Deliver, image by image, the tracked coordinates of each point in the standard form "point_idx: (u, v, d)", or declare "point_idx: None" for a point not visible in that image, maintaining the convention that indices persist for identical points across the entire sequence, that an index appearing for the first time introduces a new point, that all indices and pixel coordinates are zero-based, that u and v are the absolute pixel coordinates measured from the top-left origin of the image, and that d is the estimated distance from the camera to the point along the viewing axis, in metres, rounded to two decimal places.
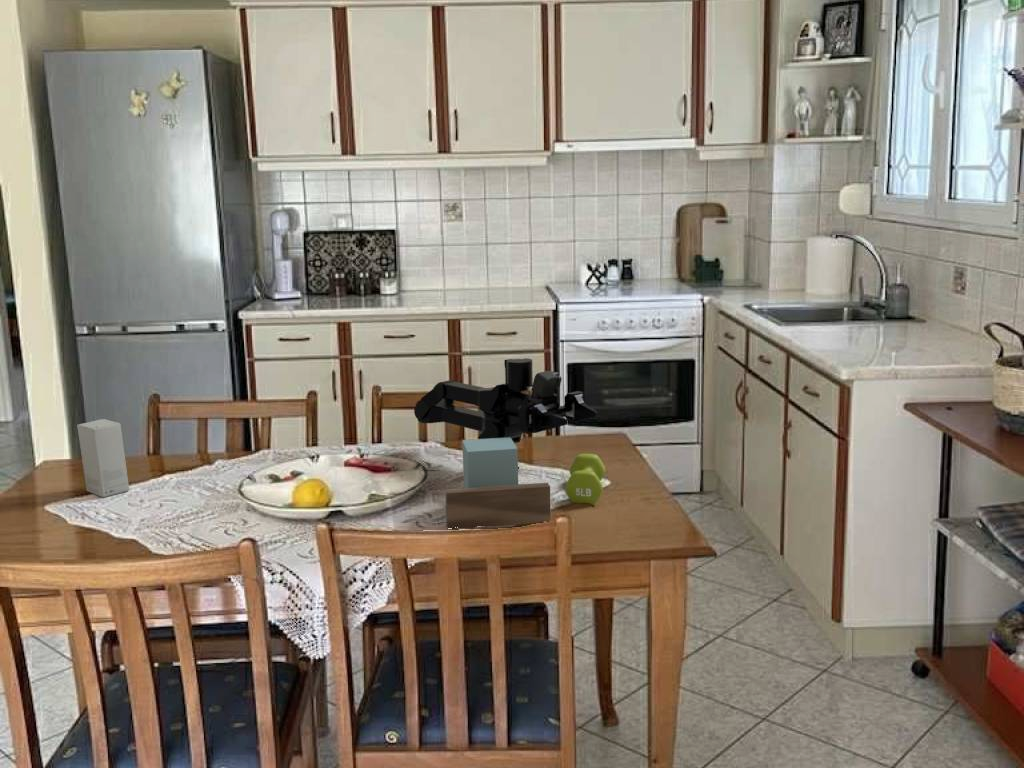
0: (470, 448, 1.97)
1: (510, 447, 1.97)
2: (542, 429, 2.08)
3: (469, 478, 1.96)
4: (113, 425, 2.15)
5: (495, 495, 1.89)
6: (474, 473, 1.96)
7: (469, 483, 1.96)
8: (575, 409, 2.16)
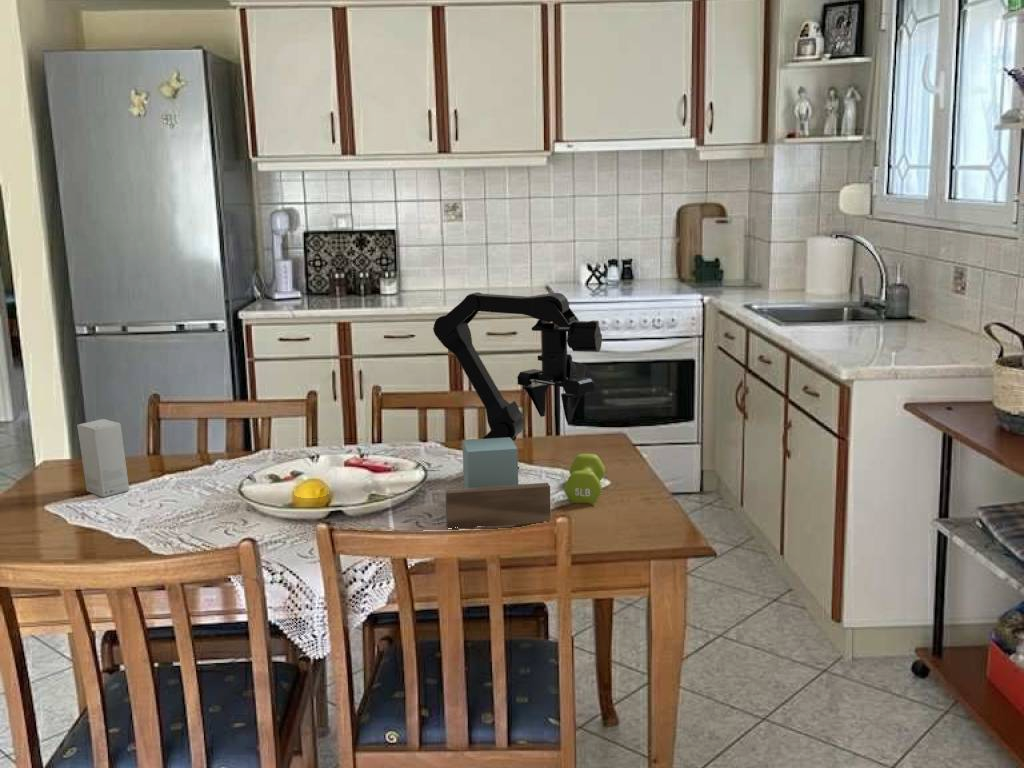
0: (470, 448, 1.97)
1: (510, 447, 1.97)
2: (568, 401, 2.16)
3: (469, 478, 1.96)
4: (113, 425, 2.15)
5: (495, 495, 1.89)
6: (474, 473, 1.96)
7: (469, 483, 1.96)
8: (540, 388, 2.24)
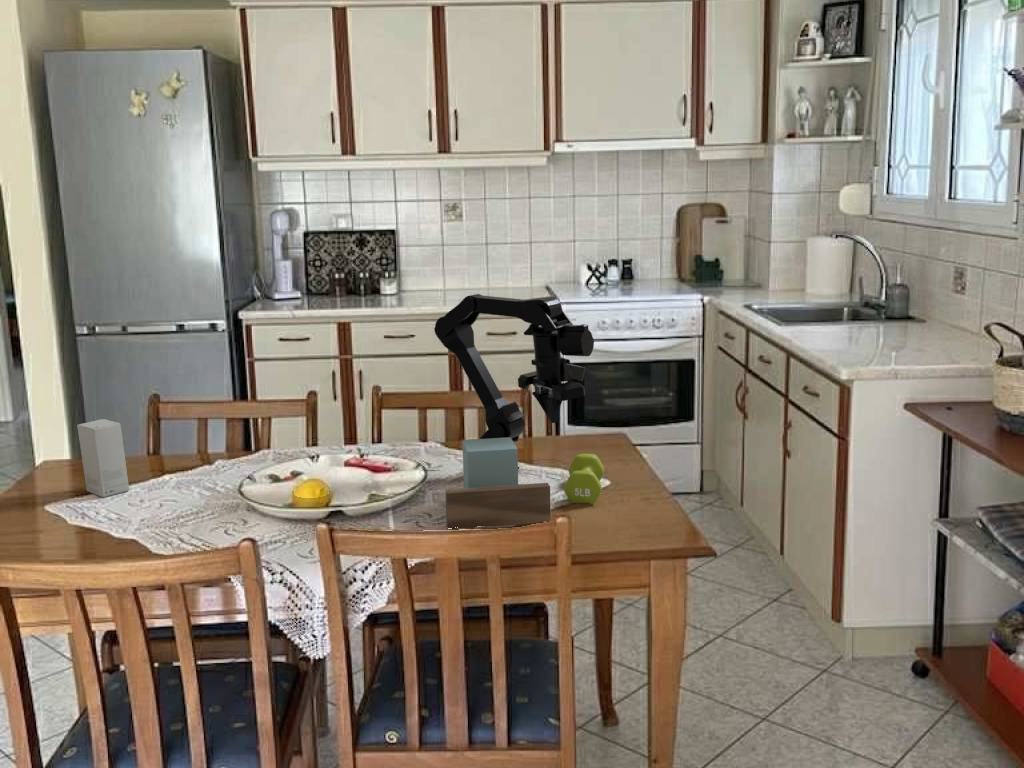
0: (470, 448, 1.97)
1: (510, 447, 1.97)
2: (548, 403, 2.17)
3: (469, 478, 1.96)
4: (113, 425, 2.15)
5: (495, 495, 1.89)
6: (474, 473, 1.96)
7: (469, 483, 1.96)
8: None
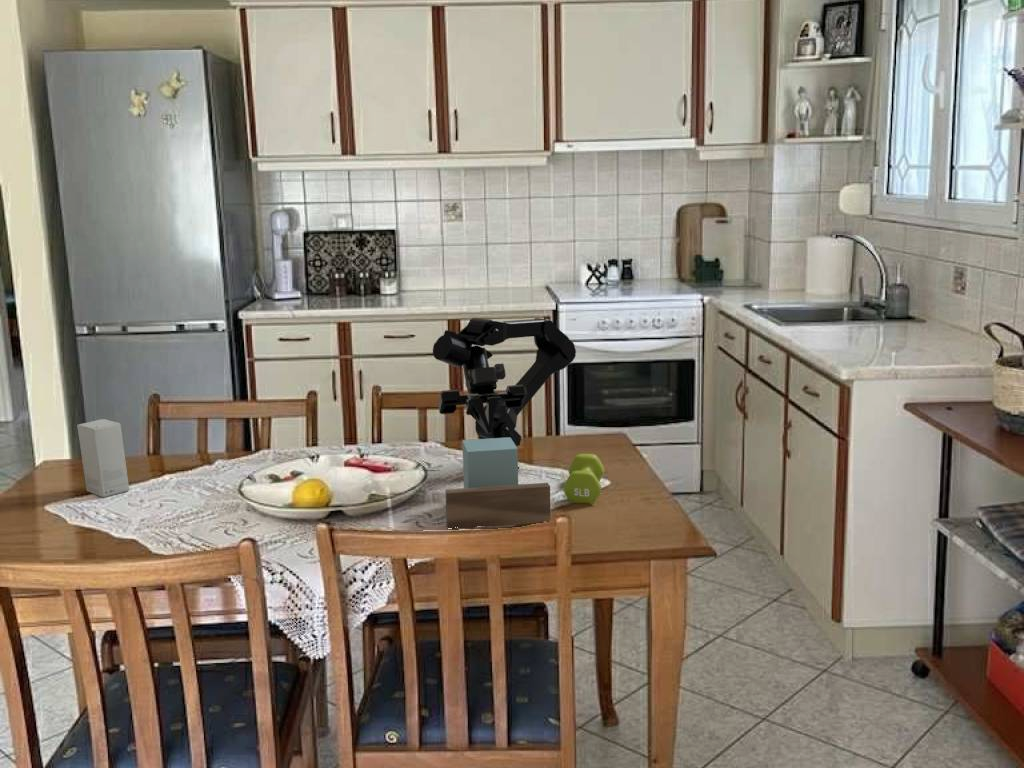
0: (470, 448, 1.97)
1: (510, 447, 1.97)
2: (474, 417, 2.14)
3: (469, 478, 1.96)
4: (113, 425, 2.15)
5: (495, 495, 1.89)
6: (474, 473, 1.96)
7: (469, 483, 1.96)
8: (487, 407, 2.13)
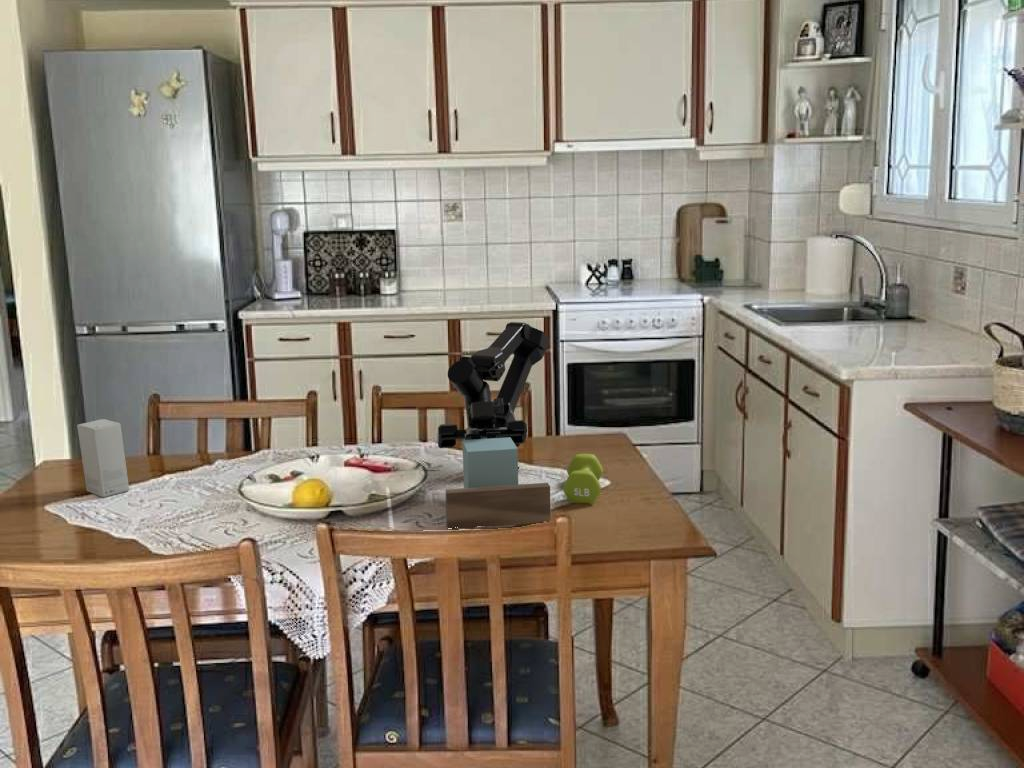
0: (470, 448, 1.97)
1: (510, 447, 1.97)
2: None
3: (469, 478, 1.96)
4: (113, 425, 2.15)
5: (495, 495, 1.89)
6: (474, 473, 1.96)
7: (469, 483, 1.96)
8: None
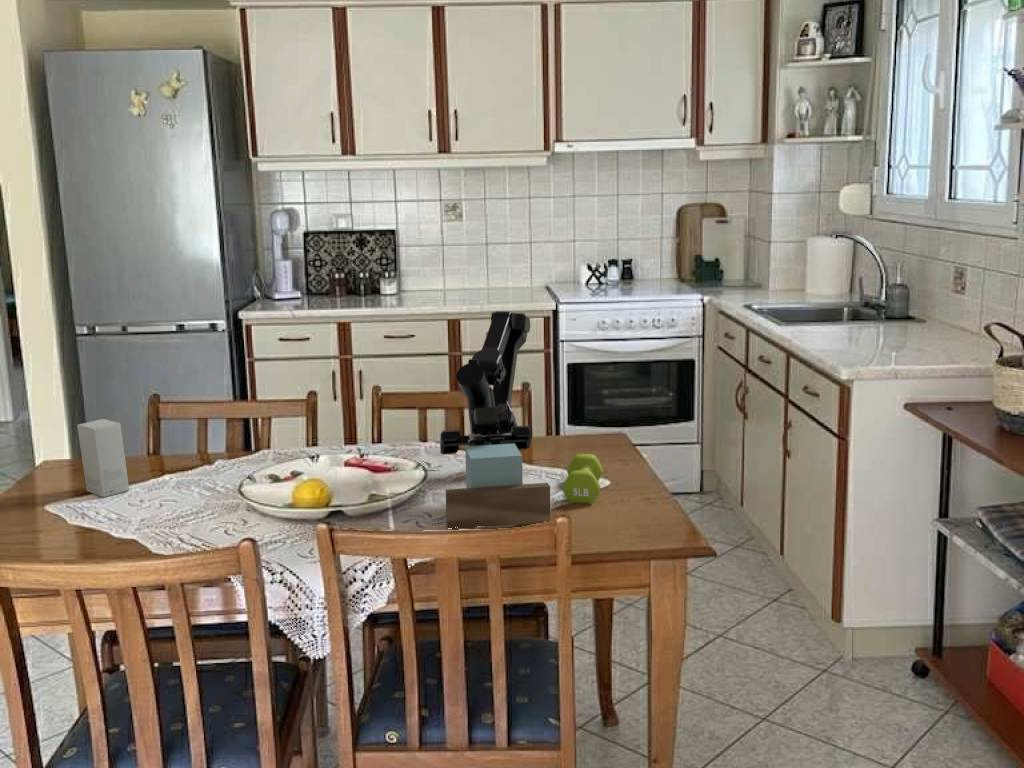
0: (474, 455, 1.92)
1: (514, 454, 1.92)
2: None
3: (472, 486, 1.91)
4: (113, 425, 2.15)
5: (495, 495, 1.89)
6: (477, 480, 1.91)
7: None
8: None
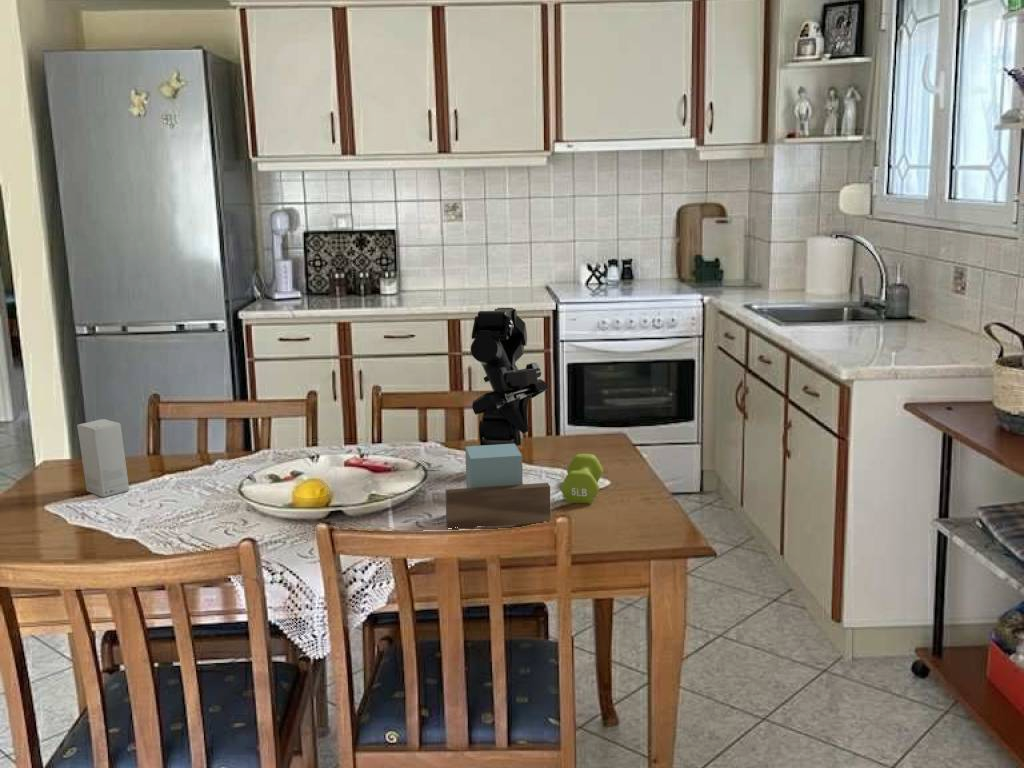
0: (474, 455, 1.92)
1: (514, 454, 1.92)
2: (503, 415, 2.13)
3: (472, 486, 1.91)
4: (113, 425, 2.15)
5: (495, 495, 1.89)
6: (477, 480, 1.91)
7: None
8: None
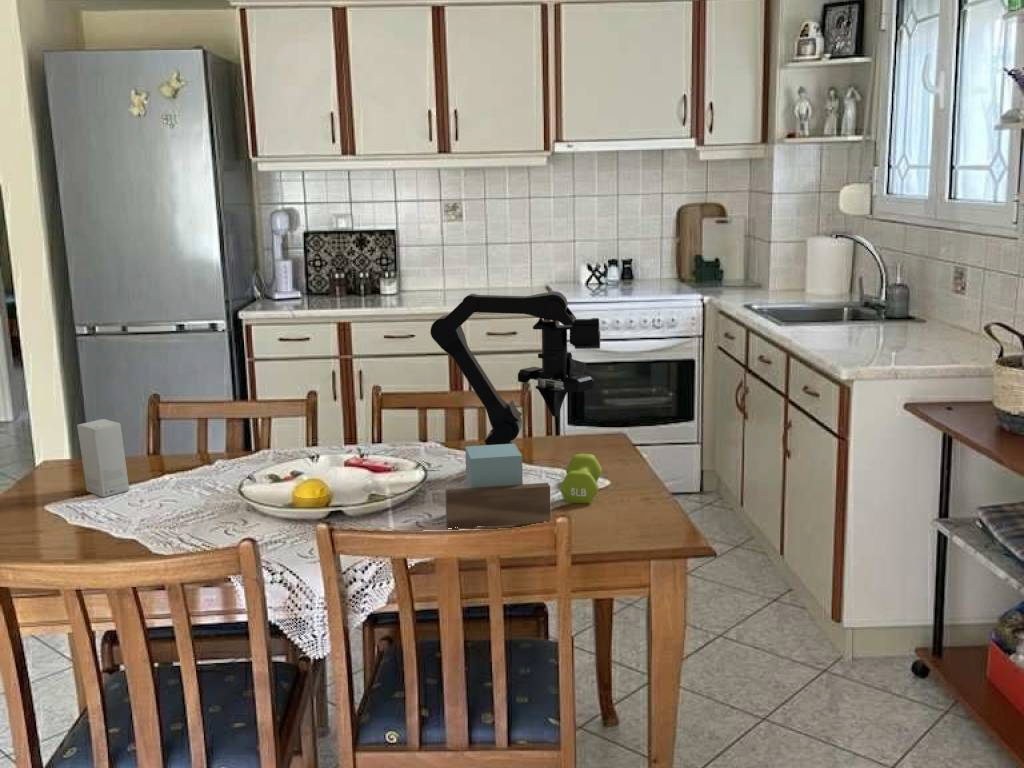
0: (474, 455, 1.92)
1: (514, 454, 1.92)
2: (555, 396, 2.21)
3: (472, 486, 1.91)
4: (113, 425, 2.15)
5: (495, 495, 1.89)
6: (477, 480, 1.91)
7: None
8: (552, 388, 2.24)
